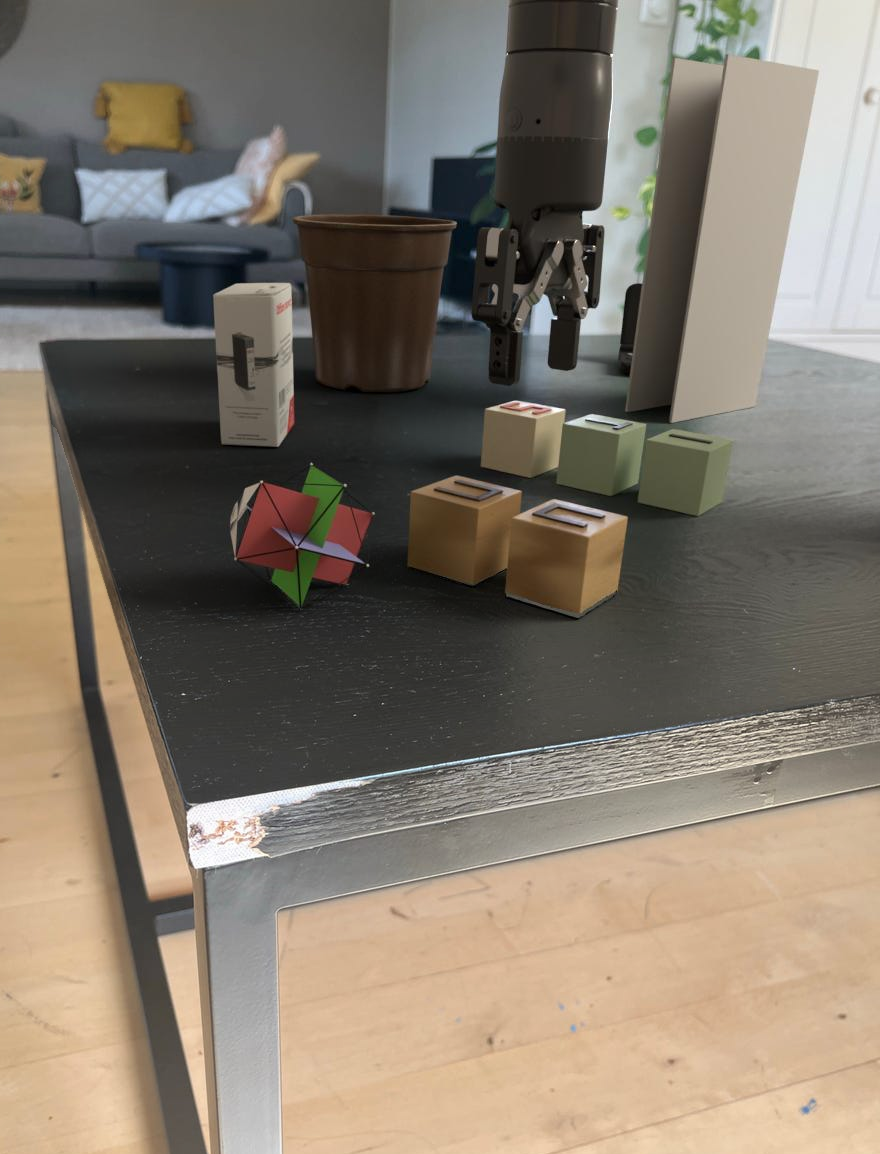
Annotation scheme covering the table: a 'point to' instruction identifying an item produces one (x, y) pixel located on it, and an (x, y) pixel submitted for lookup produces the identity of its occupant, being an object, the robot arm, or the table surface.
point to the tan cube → (461, 528)
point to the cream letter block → (522, 438)
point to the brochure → (718, 233)
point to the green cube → (600, 454)
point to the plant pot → (373, 297)
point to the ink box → (254, 363)
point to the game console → (629, 326)
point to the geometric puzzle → (301, 533)
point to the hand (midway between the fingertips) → (533, 376)
